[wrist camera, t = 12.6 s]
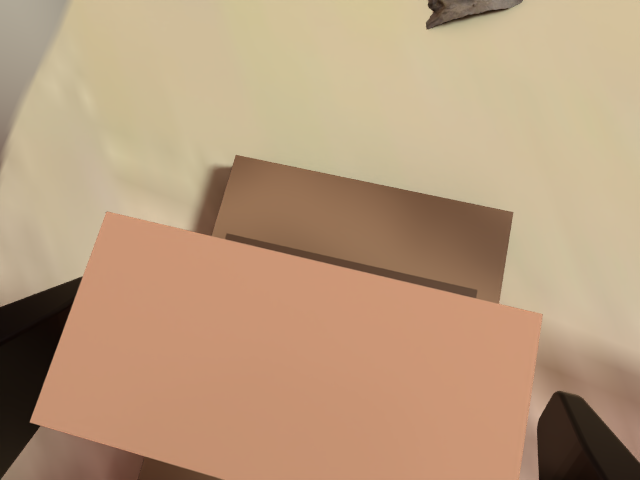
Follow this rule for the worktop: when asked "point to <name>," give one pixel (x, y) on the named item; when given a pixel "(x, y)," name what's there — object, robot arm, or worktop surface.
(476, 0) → the driftwood
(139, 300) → the clay rectangular block
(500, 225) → the square socket base
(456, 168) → the worktop surface
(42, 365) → the robot arm
